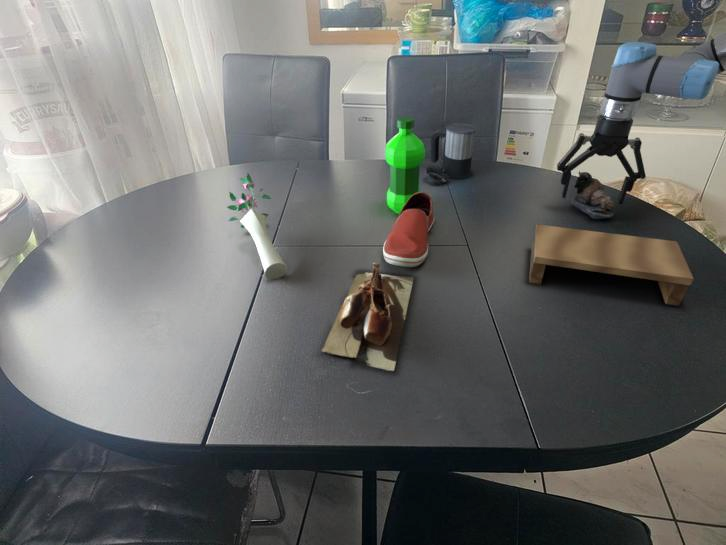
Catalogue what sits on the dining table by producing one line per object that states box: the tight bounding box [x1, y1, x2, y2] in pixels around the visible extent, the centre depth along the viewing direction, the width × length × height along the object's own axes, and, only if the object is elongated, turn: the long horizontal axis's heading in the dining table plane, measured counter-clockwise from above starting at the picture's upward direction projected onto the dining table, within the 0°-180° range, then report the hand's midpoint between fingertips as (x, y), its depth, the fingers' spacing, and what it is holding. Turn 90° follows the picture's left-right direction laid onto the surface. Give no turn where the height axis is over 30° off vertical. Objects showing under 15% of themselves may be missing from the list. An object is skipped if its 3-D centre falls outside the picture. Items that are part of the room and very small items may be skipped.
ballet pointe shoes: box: [321, 262, 415, 372], centre depth 86 cm, size 14×7×28 cm
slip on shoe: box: [382, 191, 435, 268], centre depth 107 cm, size 11×29×9 cm, turn 162°
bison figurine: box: [571, 170, 615, 220], centre depth 116 cm, size 12×7×10 cm, turn 27°
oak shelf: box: [528, 224, 695, 307], centre depth 94 cm, size 28×14×7 cm, turn 71°
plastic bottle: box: [384, 116, 426, 215], centre depth 117 cm, size 10×10×25 cm
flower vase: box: [226, 172, 287, 280], centre depth 110 cm, size 12×12×35 cm
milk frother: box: [424, 122, 477, 185], centre depth 138 cm, size 14×16×15 cm
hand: (591, 199), depth 117 cm, fingers open, 13 cm apart
